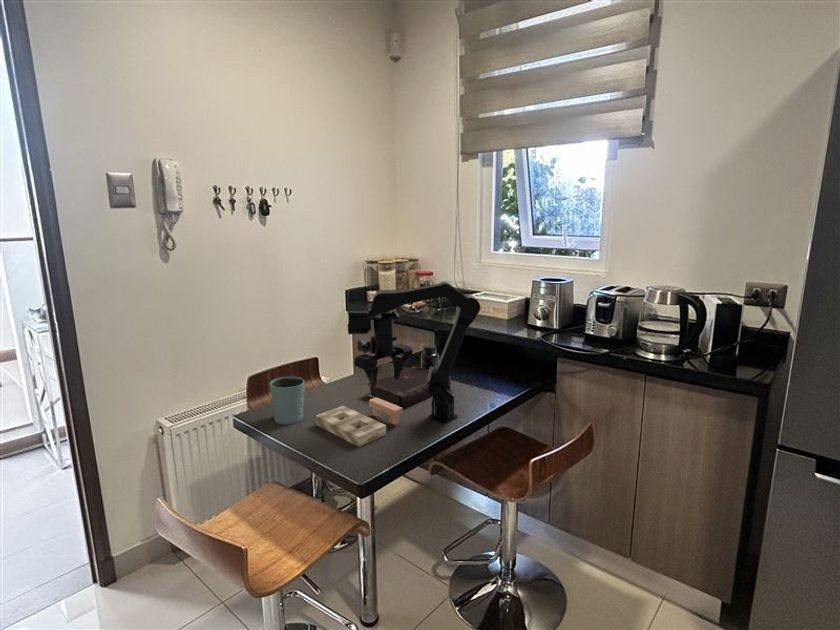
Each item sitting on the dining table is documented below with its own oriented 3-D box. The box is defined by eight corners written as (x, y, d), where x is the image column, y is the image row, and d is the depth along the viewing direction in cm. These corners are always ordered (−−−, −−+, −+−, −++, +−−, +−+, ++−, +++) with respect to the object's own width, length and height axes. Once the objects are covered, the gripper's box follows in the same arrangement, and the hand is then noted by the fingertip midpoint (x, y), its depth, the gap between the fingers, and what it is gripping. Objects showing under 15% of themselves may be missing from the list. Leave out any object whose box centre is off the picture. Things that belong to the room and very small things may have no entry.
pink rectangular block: (402, 423, 148) (402, 407, 147) (395, 426, 146) (395, 410, 145) (376, 411, 156) (376, 397, 155) (369, 414, 154) (368, 399, 153)
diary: (451, 389, 177) (451, 376, 176) (405, 411, 158) (405, 396, 157) (412, 377, 188) (412, 364, 187) (364, 396, 170) (364, 382, 169)
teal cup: (266, 418, 152) (263, 382, 149) (294, 408, 159) (292, 373, 156) (284, 428, 145) (281, 390, 142) (313, 417, 152) (311, 381, 150)
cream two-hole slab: (386, 434, 141) (385, 425, 140) (358, 447, 134) (358, 436, 133) (343, 414, 154) (343, 405, 154) (316, 424, 147) (316, 415, 147)
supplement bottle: (441, 378, 185) (441, 347, 183) (424, 380, 183) (423, 349, 181) (435, 372, 192) (435, 343, 189) (418, 374, 190) (418, 344, 187)
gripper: (388, 323, 157) (390, 369, 160) (341, 334, 144) (343, 385, 147) (413, 329, 149) (414, 377, 153) (365, 341, 136) (367, 394, 140)
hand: (385, 383), depth 148 cm, fingers open, 9 cm apart
